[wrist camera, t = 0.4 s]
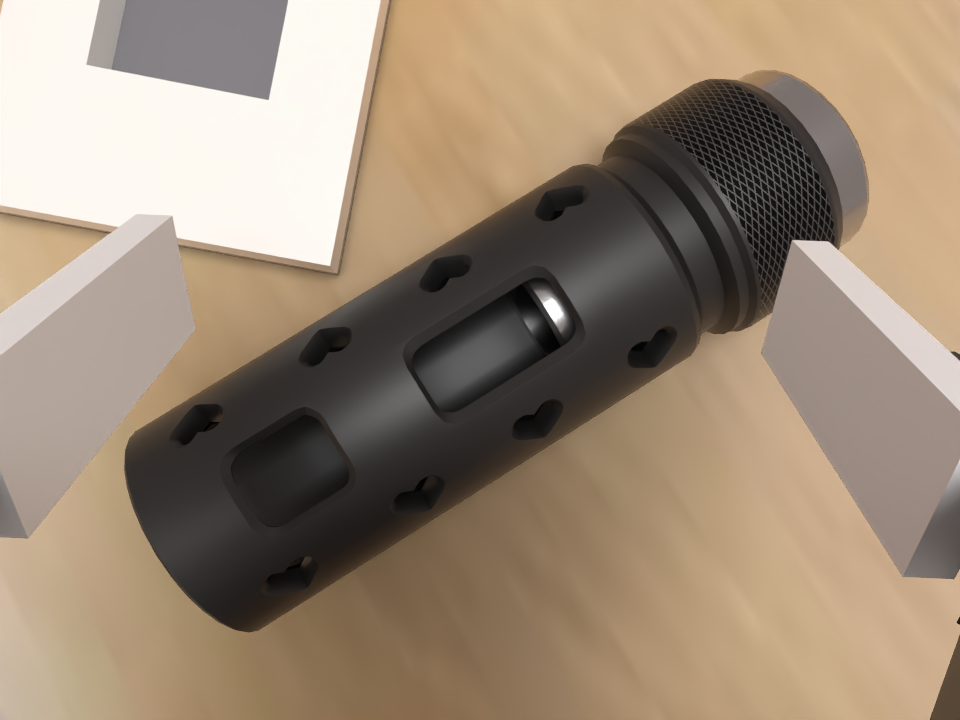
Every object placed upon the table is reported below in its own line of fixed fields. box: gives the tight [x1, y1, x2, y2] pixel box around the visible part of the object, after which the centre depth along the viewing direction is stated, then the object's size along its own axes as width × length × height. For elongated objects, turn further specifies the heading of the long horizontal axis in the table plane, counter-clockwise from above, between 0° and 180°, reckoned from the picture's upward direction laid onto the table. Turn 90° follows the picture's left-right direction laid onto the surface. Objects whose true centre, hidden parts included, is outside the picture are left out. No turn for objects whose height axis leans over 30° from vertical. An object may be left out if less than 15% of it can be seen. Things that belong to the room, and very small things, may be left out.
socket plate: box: [0, 0, 391, 275], centre depth 32 cm, size 20×16×3 cm
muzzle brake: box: [124, 70, 869, 632], centre depth 28 cm, size 10×28×10 cm, turn 122°
